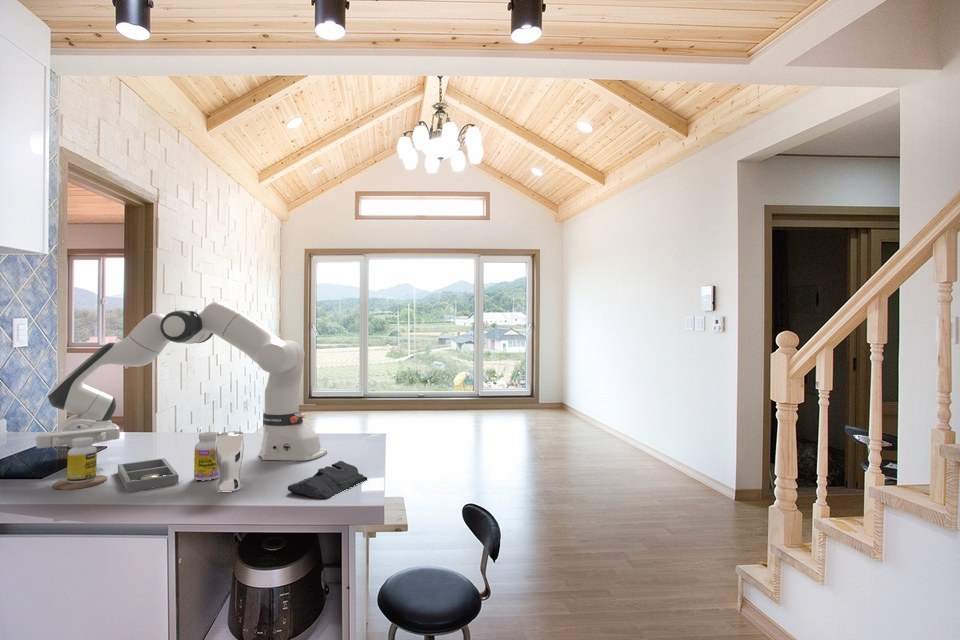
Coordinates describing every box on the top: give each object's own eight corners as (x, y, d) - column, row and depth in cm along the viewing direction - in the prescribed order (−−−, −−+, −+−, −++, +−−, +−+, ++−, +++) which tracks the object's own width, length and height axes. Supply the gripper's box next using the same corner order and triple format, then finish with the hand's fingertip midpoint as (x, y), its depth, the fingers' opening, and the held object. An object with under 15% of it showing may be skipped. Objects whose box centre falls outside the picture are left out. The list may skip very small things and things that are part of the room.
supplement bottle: (193, 482, 146) (194, 436, 146) (194, 476, 152) (194, 432, 152) (220, 479, 149) (221, 434, 150) (219, 473, 155) (220, 430, 155)
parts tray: (117, 472, 156) (117, 464, 156) (164, 466, 163) (164, 458, 163) (126, 492, 138) (126, 482, 138) (178, 483, 145) (178, 474, 145)
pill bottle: (80, 484, 142) (81, 441, 142) (60, 483, 143) (61, 440, 143) (102, 478, 148) (102, 437, 148) (83, 476, 149) (84, 435, 149)
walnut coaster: (117, 478, 150) (117, 476, 150) (76, 491, 138) (76, 489, 138) (84, 475, 152) (84, 473, 152) (41, 487, 141) (41, 485, 141)
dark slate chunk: (277, 495, 137) (277, 477, 137) (328, 473, 158) (328, 458, 158) (325, 502, 132) (326, 484, 132) (372, 479, 153) (372, 463, 153)
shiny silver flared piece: (234, 483, 146) (235, 429, 146) (248, 488, 142) (249, 433, 142) (209, 489, 140) (210, 433, 140) (222, 495, 136) (223, 437, 136)
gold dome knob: (162, 481, 148) (163, 474, 148) (150, 486, 144) (150, 478, 144) (149, 480, 149) (149, 473, 149) (136, 485, 145) (136, 477, 145)
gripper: (35, 427, 159) (34, 434, 148) (117, 419, 172) (121, 425, 161) (35, 448, 159) (34, 457, 148) (117, 438, 172) (121, 446, 161)
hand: (80, 440), depth 155 cm, fingers open, 8 cm apart
